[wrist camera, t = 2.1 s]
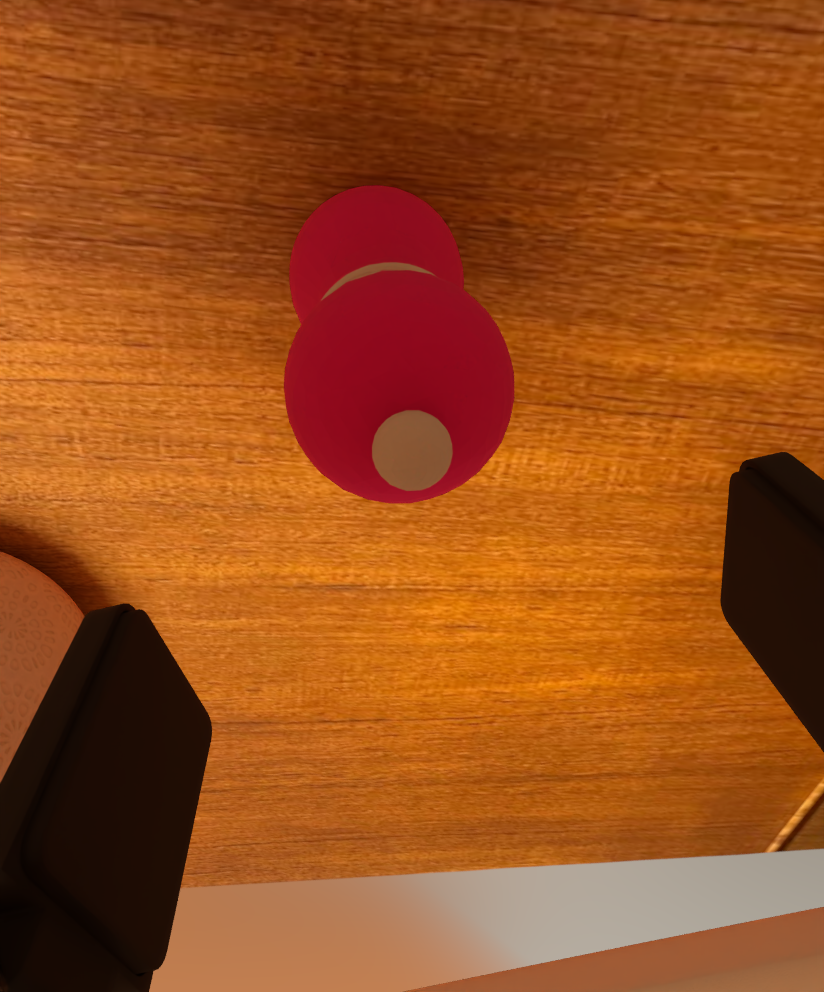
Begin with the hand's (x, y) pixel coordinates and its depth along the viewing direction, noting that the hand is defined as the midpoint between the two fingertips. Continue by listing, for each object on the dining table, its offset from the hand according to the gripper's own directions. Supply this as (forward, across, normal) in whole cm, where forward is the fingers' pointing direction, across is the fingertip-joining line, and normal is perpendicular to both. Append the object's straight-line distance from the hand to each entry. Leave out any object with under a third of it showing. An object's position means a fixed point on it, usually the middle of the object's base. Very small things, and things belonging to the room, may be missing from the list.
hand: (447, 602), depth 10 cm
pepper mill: (+24, 0, -1) cm, 24 cm away
